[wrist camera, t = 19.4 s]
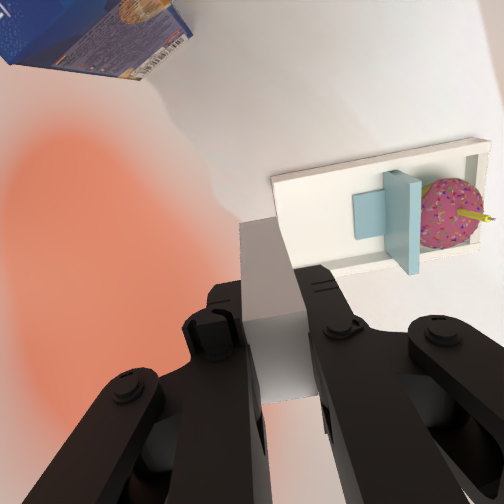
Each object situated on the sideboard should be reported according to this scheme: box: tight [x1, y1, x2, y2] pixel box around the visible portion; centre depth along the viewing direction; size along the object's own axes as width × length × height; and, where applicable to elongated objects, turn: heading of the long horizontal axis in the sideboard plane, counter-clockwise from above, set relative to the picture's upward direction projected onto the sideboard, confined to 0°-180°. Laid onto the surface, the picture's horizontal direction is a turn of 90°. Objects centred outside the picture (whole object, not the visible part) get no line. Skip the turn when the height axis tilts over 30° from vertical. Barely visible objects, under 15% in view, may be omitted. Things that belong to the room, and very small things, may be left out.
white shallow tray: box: [271, 138, 491, 277], centre depth 44 cm, size 14×25×3 cm, turn 100°
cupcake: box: [420, 178, 496, 250], centre depth 39 cm, size 9×8×12 cm
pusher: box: [352, 170, 422, 275], centre depth 41 cm, size 11×5×7 cm, turn 10°
